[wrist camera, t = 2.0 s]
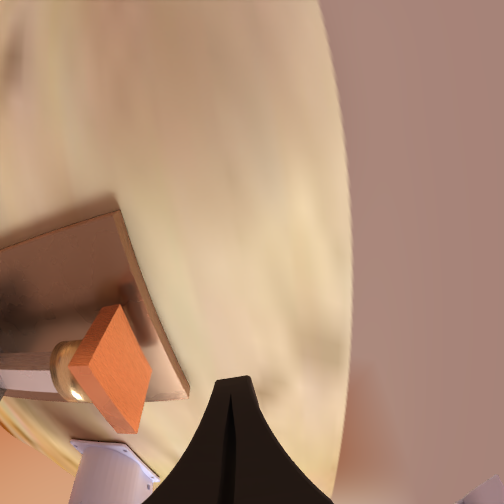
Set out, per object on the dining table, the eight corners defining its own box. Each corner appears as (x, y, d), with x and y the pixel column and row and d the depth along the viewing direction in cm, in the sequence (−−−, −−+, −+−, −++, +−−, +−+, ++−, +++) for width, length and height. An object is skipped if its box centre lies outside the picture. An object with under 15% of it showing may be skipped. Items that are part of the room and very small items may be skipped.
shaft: (120, 303, 15) (88, 365, 10) (152, 370, 17) (137, 433, 12) (-43, 327, 15) (-72, 360, 10) (-16, 372, 17) (-39, 406, 12)
